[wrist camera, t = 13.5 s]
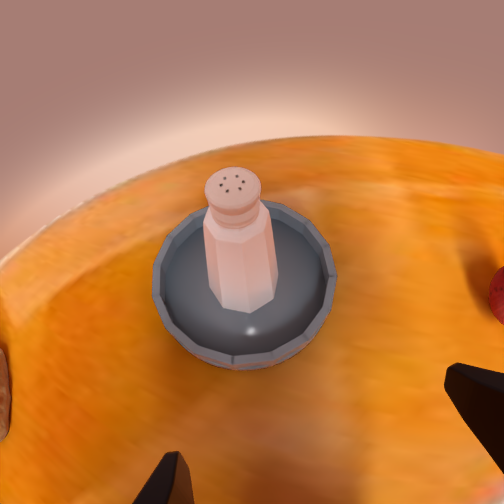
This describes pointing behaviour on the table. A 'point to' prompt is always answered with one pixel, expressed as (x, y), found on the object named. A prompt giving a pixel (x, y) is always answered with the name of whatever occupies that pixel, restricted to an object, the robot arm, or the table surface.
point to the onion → (497, 295)
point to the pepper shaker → (239, 241)
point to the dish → (236, 322)
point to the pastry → (4, 396)
